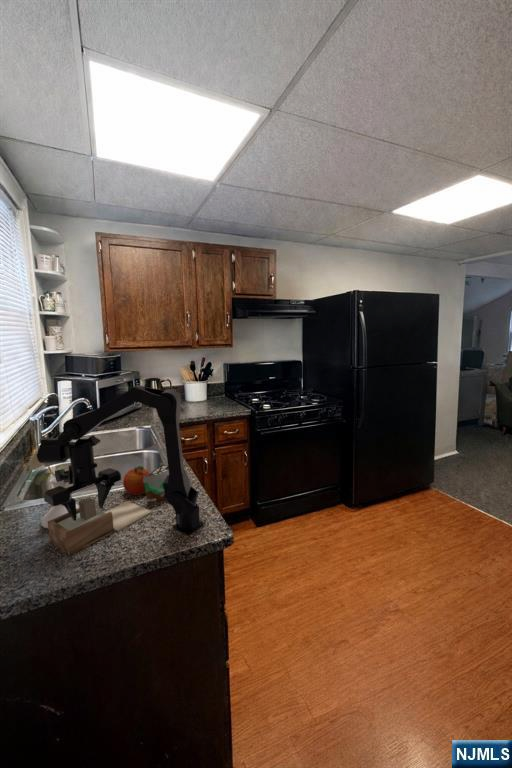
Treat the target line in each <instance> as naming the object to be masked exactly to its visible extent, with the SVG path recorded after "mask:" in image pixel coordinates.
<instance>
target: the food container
mask: <svg viewBox="0 0 512 768" xmlns="http://www.w3.org/2000/svg"><path fill="white" fill-rule="evenodd" d="M167 475H169V469H168V463H160V466H158V468H155V469H154V470H152V471H151V472H150V475H148V476H144V478H143V483H145V490H146V492H145V495H146V502H147V503H146V504H149V505H150V504H158V503H161V502H163V501H165V499H166V498H164V495H165V492H164V488H163V482H164V481H165V479H166V477H167ZM166 500H167V499H166Z"/></svg>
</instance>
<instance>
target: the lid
mask: <svg viewBox="0 0 512 768" xmlns="http://www.w3.org/2000/svg"><path fill="white" fill-rule="evenodd" d="M78 505H79V511H80V513H78V514H77V517H76V521H74V520H73V519H72V518H71V517H69V518H67V519H65V520H62V521H60V522H58V524H59V525H61V526H62V527H64V528H66V529H67V530H69V531H71V530H73V529H75V528H77V527H79V526H81V525H83V524H85V523H87V522H89V521H91V520H94V519H96V518H98V517H100V516H102V515H104V514H106V513H104V512H105V511H102V510H101V509H98V508H97V507H96V500H95V499H94V498H91V497H88V498H87V497H86V498H85V499H83V500H80V501H78Z"/></svg>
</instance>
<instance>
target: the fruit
mask: <svg viewBox="0 0 512 768" xmlns="http://www.w3.org/2000/svg"><path fill="white" fill-rule="evenodd" d="M150 474H151V472H149V471H148V470H147V469H145V468H144V466H142V465H139V466H137V467H136V466H135V467H134V469H130V470H128V471H127V472H126V474H124V477H123V482H122V485H123V488H124V491H125V492H127V493H128V494H129V495H133V496H139V495H143V494H144V493H146V490H145V483H143V478H144V476H148V475H150Z"/></svg>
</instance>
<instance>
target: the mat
mask: <svg viewBox="0 0 512 768" xmlns="http://www.w3.org/2000/svg"><path fill="white" fill-rule="evenodd" d="M103 512H104V513H108V512H112V517H113V528H114V532H120V531H122V530H124V529H125V528H128V527H129V526H131V525H132V524H135V523H137V522H138V521H140V520H142V519H144V518H145V517H147V516H149V515H151V514H153V511H152V510H150V509H147V508H145V507H143V506H140V505H138V504H135V503H134V502H131V501H127V500H126V501H125V502H123V503H122V504H119V505H116V506H115V507H112V508H111V509H108V510H106V511H103Z"/></svg>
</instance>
